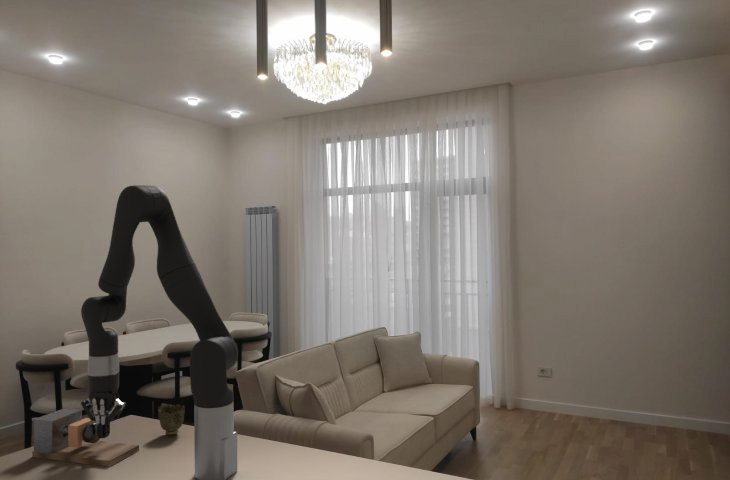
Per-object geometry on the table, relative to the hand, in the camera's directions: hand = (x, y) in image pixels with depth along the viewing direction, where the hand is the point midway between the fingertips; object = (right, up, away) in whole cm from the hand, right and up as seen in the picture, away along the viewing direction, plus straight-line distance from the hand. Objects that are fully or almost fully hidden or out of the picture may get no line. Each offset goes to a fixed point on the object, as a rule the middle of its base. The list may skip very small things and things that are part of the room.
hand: (103, 437), depth 142 cm
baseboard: (-6, -5, +2) cm, 8 cm away
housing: (-14, -4, +4) cm, 15 cm away
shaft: (-8, -2, +2) cm, 9 cm away
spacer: (-7, -2, +2) cm, 7 cm away
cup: (+12, -6, +16) cm, 21 cm away
